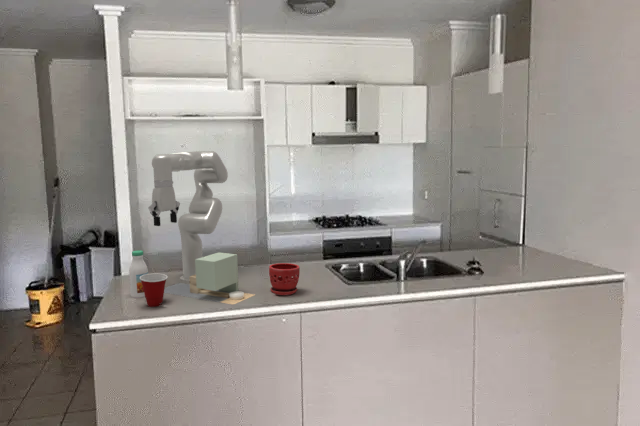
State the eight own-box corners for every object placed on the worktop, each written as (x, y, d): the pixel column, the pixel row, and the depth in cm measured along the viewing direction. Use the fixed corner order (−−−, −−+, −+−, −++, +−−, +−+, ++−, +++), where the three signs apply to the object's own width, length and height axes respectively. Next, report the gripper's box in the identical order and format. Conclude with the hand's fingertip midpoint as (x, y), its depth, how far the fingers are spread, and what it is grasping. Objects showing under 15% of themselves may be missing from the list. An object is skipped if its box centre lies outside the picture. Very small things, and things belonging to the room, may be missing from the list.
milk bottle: (130, 300, 225) (127, 253, 222) (131, 295, 233) (128, 250, 230) (149, 298, 227) (146, 252, 225) (149, 293, 235) (147, 248, 232)
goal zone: (242, 294, 231) (242, 292, 231) (255, 297, 227) (255, 294, 227) (219, 304, 218) (219, 302, 218) (233, 306, 214) (233, 304, 214)
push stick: (197, 289, 236) (196, 274, 235) (233, 295, 226) (233, 279, 225) (190, 292, 232) (189, 276, 231) (227, 298, 223) (226, 282, 222)
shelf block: (220, 291, 237) (218, 252, 234) (238, 294, 232) (237, 254, 229) (197, 300, 224) (195, 259, 221) (216, 303, 219) (214, 261, 216)
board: (179, 284, 248) (179, 282, 248) (242, 294, 231) (242, 292, 231) (155, 293, 235) (155, 291, 235) (219, 304, 218) (219, 302, 218)
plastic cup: (155, 310, 212) (154, 280, 210) (135, 306, 216) (133, 277, 215) (174, 302, 221) (173, 274, 220) (154, 299, 226) (153, 271, 224)
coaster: (235, 295, 227) (235, 290, 227) (246, 296, 224) (246, 292, 224) (226, 299, 222) (226, 294, 222) (238, 300, 219) (238, 296, 219)
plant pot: (288, 298, 224) (288, 270, 223) (263, 294, 231) (262, 267, 230) (305, 290, 236) (305, 264, 234) (281, 287, 242) (280, 260, 241)
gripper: (171, 182, 239) (173, 220, 242) (141, 186, 224) (144, 226, 227) (184, 183, 236) (186, 221, 238) (154, 186, 221) (157, 227, 223)
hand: (165, 224), depth 232 cm, fingers open, 9 cm apart
